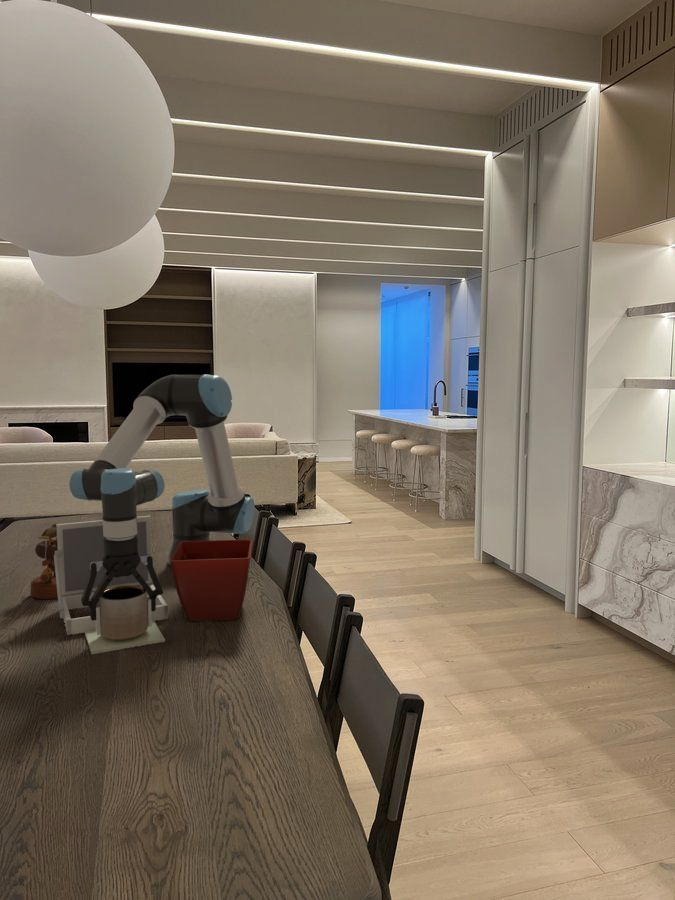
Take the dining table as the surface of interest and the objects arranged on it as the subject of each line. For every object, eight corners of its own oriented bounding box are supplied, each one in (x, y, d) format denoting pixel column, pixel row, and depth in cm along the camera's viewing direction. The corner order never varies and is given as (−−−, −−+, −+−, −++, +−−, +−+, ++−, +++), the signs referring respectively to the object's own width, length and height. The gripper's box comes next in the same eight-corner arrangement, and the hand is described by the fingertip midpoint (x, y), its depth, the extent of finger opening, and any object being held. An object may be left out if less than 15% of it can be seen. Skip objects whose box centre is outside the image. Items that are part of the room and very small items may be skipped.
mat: (153, 622, 168) (153, 620, 168) (164, 641, 156) (164, 639, 156) (84, 633, 161) (84, 631, 161) (91, 654, 149) (91, 651, 149)
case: (152, 595, 188) (149, 515, 185) (168, 618, 170) (165, 531, 168) (56, 608, 177) (51, 524, 175) (62, 635, 159) (57, 542, 157)
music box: (69, 600, 184) (65, 528, 181) (25, 603, 181) (21, 530, 179) (77, 583, 198) (74, 516, 196) (37, 586, 196) (33, 518, 194)
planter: (106, 624, 163) (104, 585, 162) (152, 622, 164) (150, 584, 163) (94, 642, 152) (92, 601, 151) (143, 640, 153) (141, 599, 152)
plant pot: (182, 601, 184) (180, 540, 182) (253, 598, 185) (252, 538, 183) (171, 627, 165) (169, 560, 163) (250, 625, 166) (249, 558, 164)
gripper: (167, 527, 164) (170, 615, 167) (64, 538, 154) (69, 631, 156) (174, 534, 157) (177, 625, 160) (67, 546, 147) (72, 643, 150)
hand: (124, 628), depth 158 cm, fingers closed on planter, 11 cm apart
